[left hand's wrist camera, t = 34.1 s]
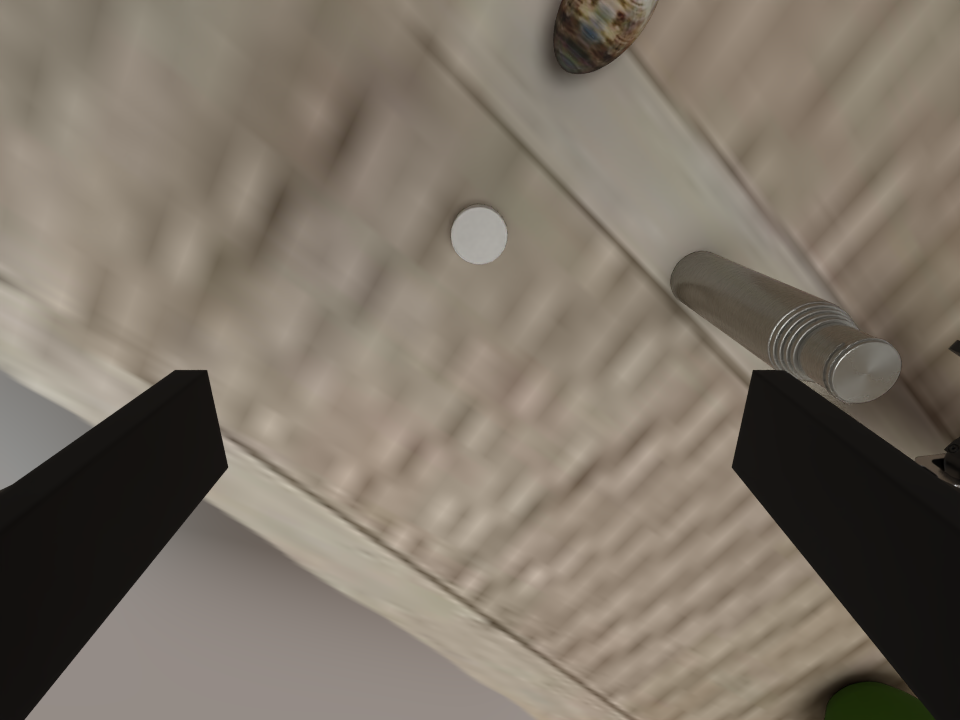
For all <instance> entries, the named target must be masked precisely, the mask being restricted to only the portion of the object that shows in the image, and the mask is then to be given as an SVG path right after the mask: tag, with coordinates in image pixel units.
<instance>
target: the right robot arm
mask: <svg viewBox="0 0 960 720" xmlns="http://www.w3.org/2000/svg"><path fill="white" fill-rule="evenodd" d="M949 350H951V351H952V352H954V353H955V354H957V355H958V356H960V341H959V340H957V341H956V342H955V343H954V344H953V345H952V346H951V347H950V348H949ZM944 450H945V451H947V453H945V454H937V455H928V456H919V457H916V458H915V462H916V463H918V464H919V465H921V466H922V467H923V468H925V469H926V470H928V471H929V472H930V473H932V474H933V475H935V476H936V477H938V478H940V479H942V480H944V481H946V482H948V483H950V484H952V485H954V486H957V487H959V488H960V437H959V438H957V439H956V440H954V441H953V442H952V443H951V444H949V445H948V446H947V447H946V448H945V449H944Z"/></svg>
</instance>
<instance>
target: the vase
mask: <svg viewBox="0 0 960 720" xmlns="http://www.w3.org/2000/svg"><path fill="white" fill-rule="evenodd" d="M824 720H935V718H934V717H933V716H932V715H931V713H930V712H929V711H928V710H927V709H926V707H925V706H924V705H923V704H922V702H921V701H920V700H919V699H917V698H915V697H914V696H912V695H910V694H908V693H906V692H904V691H902V690H899V689H897V688H894V687H891V686H888V685H886V684H883V683H879V682H860V683H856V684H852V685H849V686H847V687H845V688H843V689H841V690H840V691H838V692H837V693H836V694H835V695H834V696H833V697H832V698H831V699H830V700H829V702H828V704H827V707H826V713H825V719H824Z"/></svg>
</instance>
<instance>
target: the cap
mask: <svg viewBox="0 0 960 720" xmlns="http://www.w3.org/2000/svg"><path fill="white" fill-rule="evenodd" d="M453 223H454V224H453V226H452V228H451V241H452V245H453V247H454V250H455V251H456V253H457V254H458V255H459V256H460V257H461V258H462V259H463V260H465V261H467V262H469V263H472V264H486V263H489V262H492V261H493V260H495V259H496V258H498V257H499V256H500V254H501V253H502V252H503V250H504V248H505V246H506V242H507V234H508V233H507V229H506V227H507V226H506V224H505V223H504V221H503V217H501V215H500V214H499V213H498V211H496V210H495V209H493V208H492V207H489V206H486V205H485V204H484V205H481V204H477V205H472V206H471V205H470V206H469V207H467V208H465V209H463V210H462V211H461V212H460V213H458V215H457V217H456V219H455V220H454V222H453Z"/></svg>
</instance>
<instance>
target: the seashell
mask: <svg viewBox="0 0 960 720" xmlns="http://www.w3.org/2000/svg"><path fill="white" fill-rule="evenodd" d="M657 3H658V0H562V2H561V5H560V8H559V10H558V14H557V17H556V21H555V27H554V38H553V42H554V51H555V55H556V58H557V61H558V63H559V65H560V66H561V67H562V68H563V69H564V70H565V71H567V72H570V73H574V74H584V73H589V72H593V71H595V70H598V69H600V68H602V67H604V66H606V65H607V64H609V63H610V62H612V61H613V60H615V59H616V58H617V57H618V56H620V55H621V54H622V53H623V52H624V51H625V50H626V49H627V48H628V47H629V46H630V45H631V44H632V43H633V42H634V41H635V39H636V38H637V37H638V36H639V34H640V33H641V32H642V30H643V29H644V27H645V26H646V24H647V23H648V21H649V19H650V18H651V16H652V14H653V12H654V10H655V8H656V5H657Z"/></svg>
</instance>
